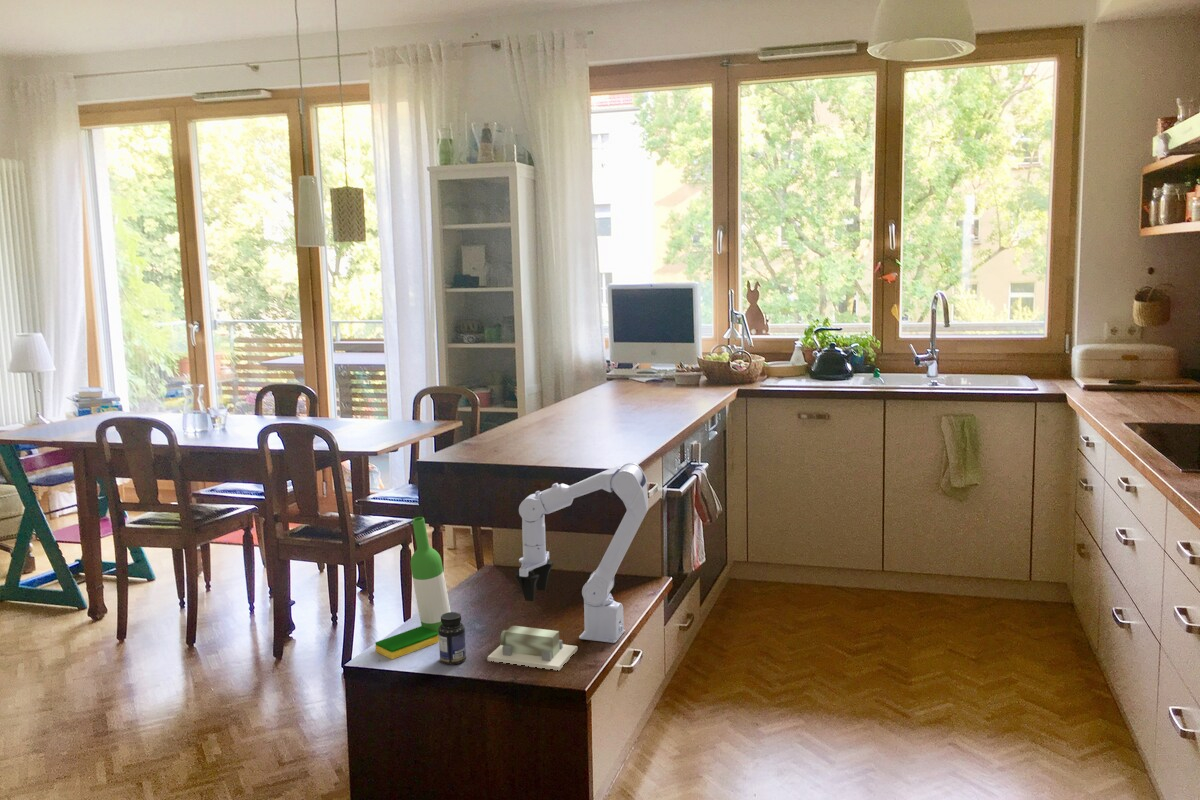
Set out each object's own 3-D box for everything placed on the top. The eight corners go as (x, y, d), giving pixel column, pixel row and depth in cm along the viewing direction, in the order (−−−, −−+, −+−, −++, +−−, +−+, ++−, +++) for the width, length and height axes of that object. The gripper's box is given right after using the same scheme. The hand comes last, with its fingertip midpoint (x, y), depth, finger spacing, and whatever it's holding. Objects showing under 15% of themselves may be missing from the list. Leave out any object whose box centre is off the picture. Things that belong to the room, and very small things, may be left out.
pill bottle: (467, 654, 233) (465, 610, 231) (464, 665, 227) (462, 620, 225) (441, 655, 232) (439, 611, 231) (438, 666, 226) (436, 621, 225)
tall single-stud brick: (559, 651, 231) (558, 631, 230) (553, 658, 227) (552, 637, 227) (507, 644, 236) (506, 624, 235) (499, 650, 232) (499, 630, 231)
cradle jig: (577, 650, 234) (577, 638, 234) (559, 670, 223) (558, 658, 222) (508, 641, 240) (508, 629, 239) (487, 660, 229) (487, 648, 228)
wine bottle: (416, 634, 245) (395, 524, 237) (433, 619, 252) (414, 511, 244) (442, 638, 242) (422, 526, 234) (459, 623, 248) (440, 513, 241)
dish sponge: (375, 651, 235) (374, 642, 235) (422, 634, 245) (421, 625, 245) (392, 660, 231) (391, 650, 230) (439, 642, 240) (439, 632, 240)
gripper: (530, 533, 250) (532, 583, 253) (507, 550, 237) (508, 603, 239) (556, 535, 248) (557, 586, 250) (534, 552, 235) (535, 606, 237)
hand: (535, 595), depth 245 cm, fingers open, 7 cm apart
